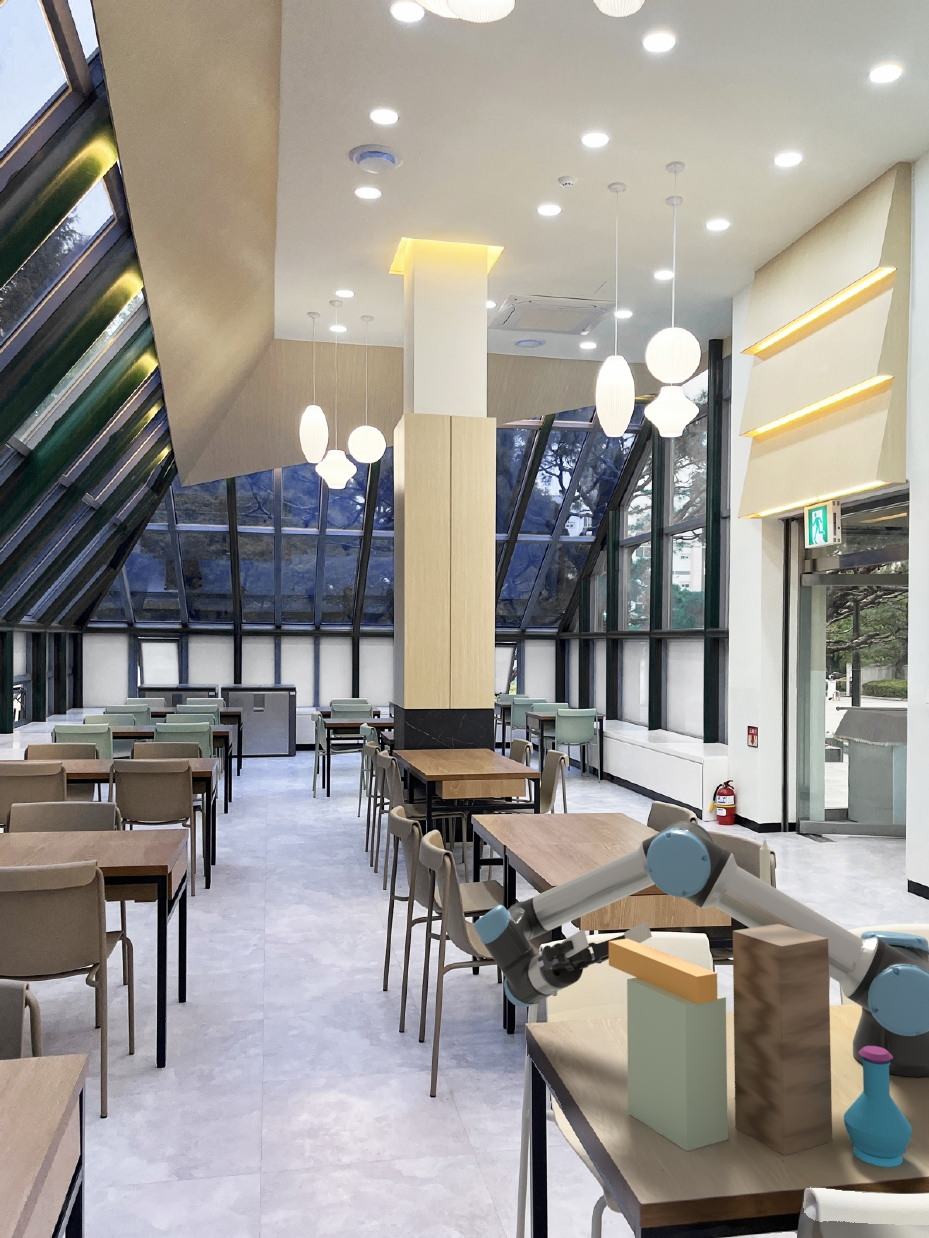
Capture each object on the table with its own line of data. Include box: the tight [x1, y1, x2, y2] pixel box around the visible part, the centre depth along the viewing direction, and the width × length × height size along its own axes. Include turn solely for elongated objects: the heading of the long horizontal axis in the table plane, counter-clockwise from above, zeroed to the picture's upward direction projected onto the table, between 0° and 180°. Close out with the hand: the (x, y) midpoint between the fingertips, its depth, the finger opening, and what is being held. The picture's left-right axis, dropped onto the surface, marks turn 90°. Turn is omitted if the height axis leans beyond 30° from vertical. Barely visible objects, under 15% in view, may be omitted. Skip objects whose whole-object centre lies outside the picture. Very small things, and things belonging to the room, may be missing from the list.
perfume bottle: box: [843, 1046, 913, 1168], centre depth 137 cm, size 9×9×15 cm
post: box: [732, 924, 833, 1156], centre depth 144 cm, size 10×10×30 cm
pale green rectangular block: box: [626, 977, 729, 1152], centre depth 146 cm, size 14×8×21 cm, turn 28°
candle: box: [759, 836, 772, 886], centre depth 194 cm, size 10×10×38 cm
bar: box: [608, 939, 718, 1004], centre depth 150 cm, size 22×4×4 cm, turn 28°
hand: (617, 933), depth 160 cm, fingers open, 13 cm apart
